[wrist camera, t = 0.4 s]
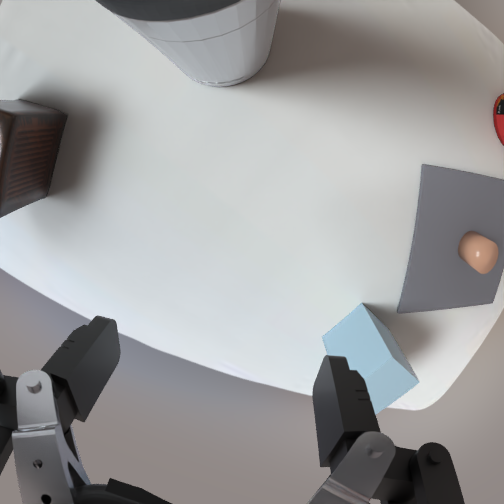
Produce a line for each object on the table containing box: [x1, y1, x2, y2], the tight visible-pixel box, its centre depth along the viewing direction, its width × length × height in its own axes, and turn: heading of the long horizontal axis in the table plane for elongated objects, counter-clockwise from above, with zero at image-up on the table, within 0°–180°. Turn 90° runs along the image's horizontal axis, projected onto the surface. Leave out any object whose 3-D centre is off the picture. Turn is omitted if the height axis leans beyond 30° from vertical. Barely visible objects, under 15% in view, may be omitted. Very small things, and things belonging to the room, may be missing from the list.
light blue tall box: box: [322, 303, 419, 415], centre depth 30 cm, size 6×6×10 cm
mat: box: [397, 164, 504, 313], centre depth 30 cm, size 18×18×1 cm
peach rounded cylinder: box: [458, 231, 498, 274], centre depth 28 cm, size 4×4×4 cm
